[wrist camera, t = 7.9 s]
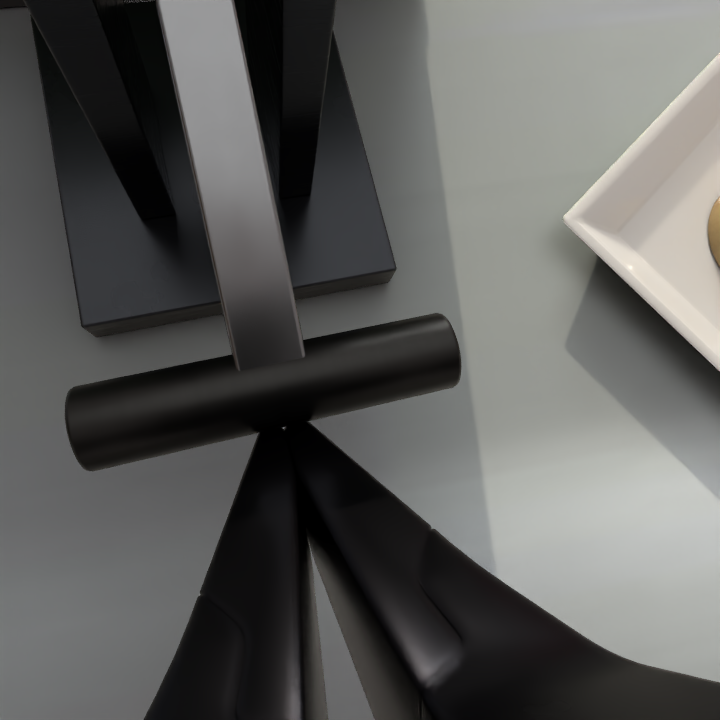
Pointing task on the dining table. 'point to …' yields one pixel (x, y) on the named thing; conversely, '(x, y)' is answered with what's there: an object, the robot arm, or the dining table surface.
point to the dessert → (666, 214)
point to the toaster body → (11, 3)
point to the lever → (245, 291)
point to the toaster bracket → (172, 165)
